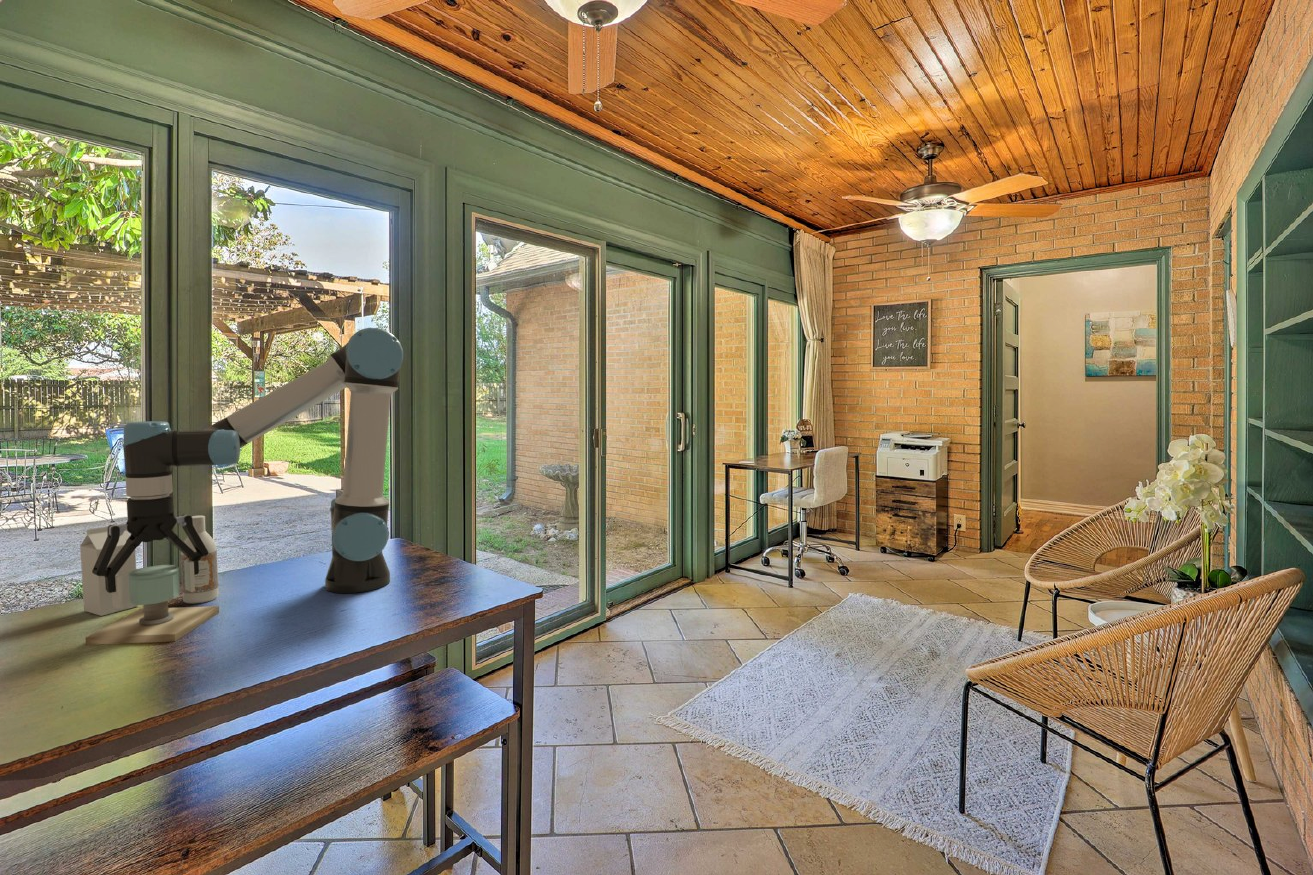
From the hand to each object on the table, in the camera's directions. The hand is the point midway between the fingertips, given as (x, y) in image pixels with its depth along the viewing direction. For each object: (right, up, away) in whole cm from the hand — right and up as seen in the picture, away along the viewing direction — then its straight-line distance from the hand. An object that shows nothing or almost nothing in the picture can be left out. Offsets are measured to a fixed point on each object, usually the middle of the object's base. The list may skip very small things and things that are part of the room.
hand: (155, 598), depth 132 cm
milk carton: (-19, -5, +11) cm, 22 cm away
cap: (0, 0, 0) cm, 0 cm away
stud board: (0, -6, +1) cm, 6 cm away
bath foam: (-4, -5, +18) cm, 19 cm away
